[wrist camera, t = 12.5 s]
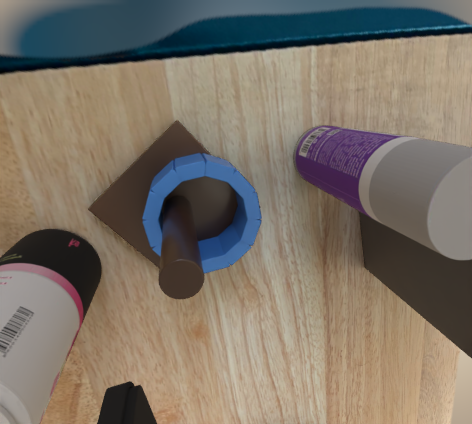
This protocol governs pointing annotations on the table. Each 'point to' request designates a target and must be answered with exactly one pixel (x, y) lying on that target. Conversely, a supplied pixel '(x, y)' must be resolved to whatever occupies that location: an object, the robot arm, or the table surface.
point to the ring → (234, 236)
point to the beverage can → (41, 317)
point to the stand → (169, 212)
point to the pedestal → (422, 279)
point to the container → (395, 182)
